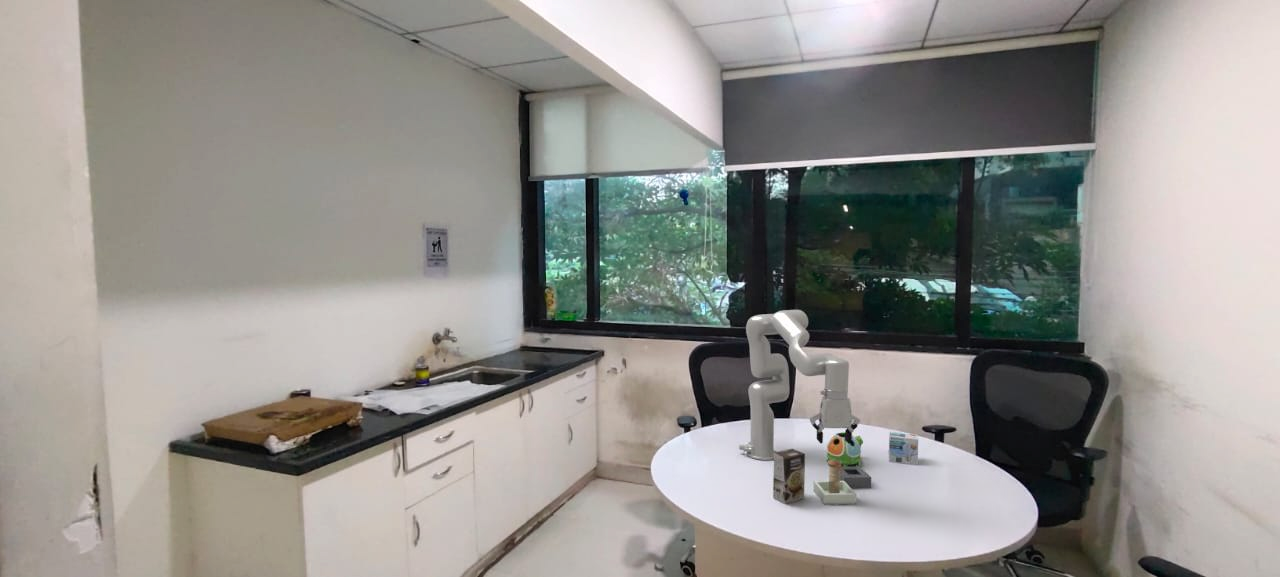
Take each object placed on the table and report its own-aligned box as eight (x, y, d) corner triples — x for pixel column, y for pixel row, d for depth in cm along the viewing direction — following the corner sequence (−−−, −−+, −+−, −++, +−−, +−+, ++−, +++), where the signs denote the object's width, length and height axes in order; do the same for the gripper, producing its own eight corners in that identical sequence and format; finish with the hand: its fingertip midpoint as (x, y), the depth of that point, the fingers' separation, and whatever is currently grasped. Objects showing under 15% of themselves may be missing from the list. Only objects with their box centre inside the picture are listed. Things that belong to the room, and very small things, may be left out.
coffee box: (785, 504, 186) (785, 458, 185) (772, 497, 191) (772, 452, 190) (805, 498, 190) (805, 453, 189) (792, 491, 196) (792, 447, 194)
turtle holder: (874, 462, 222) (875, 433, 221) (845, 472, 212) (845, 442, 211) (848, 453, 232) (849, 425, 231) (819, 461, 223) (820, 433, 222)
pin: (830, 498, 189) (830, 464, 188) (825, 492, 193) (826, 459, 192) (842, 498, 189) (843, 464, 188) (838, 492, 193) (838, 459, 192)
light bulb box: (888, 462, 222) (889, 436, 221) (888, 456, 228) (888, 431, 228) (918, 465, 218) (919, 439, 217) (916, 459, 224) (917, 434, 224)
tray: (824, 504, 185) (824, 494, 185) (813, 490, 196) (813, 481, 196) (856, 504, 185) (856, 494, 185) (843, 490, 196) (844, 480, 196)
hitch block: (843, 488, 198) (843, 477, 198) (833, 476, 208) (833, 466, 208) (871, 488, 198) (871, 477, 198) (859, 476, 208) (859, 466, 208)
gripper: (814, 397, 184) (812, 446, 186) (865, 397, 185) (863, 446, 186) (807, 391, 192) (805, 438, 194) (856, 391, 192) (854, 438, 194)
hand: (833, 442), depth 190 cm, fingers open, 9 cm apart
